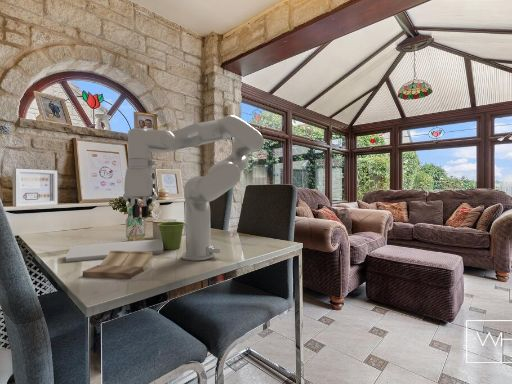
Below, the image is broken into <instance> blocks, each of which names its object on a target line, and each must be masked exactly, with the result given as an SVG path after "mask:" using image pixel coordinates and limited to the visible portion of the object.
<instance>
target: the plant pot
mask: <svg viewBox="0 0 512 384" xmlns="http://www.w3.org/2000/svg"><path fill="white" fill-rule="evenodd" d="M185 225H186V222H183V221H164V222H160V223H157V226H158V228H159V231H160V236H161V239H162V245H163V250H169V251H171V250H177V249H180V248H181V242H182V237H183V230H184V227H185Z"/></svg>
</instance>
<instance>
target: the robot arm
mask: <svg viewBox="0 0 512 384" xmlns="http://www.w3.org/2000/svg"><path fill="white" fill-rule="evenodd" d="M231 138H233V139H234V140H233V142H232V150H231V154H229V155H228V156H226V157H225V158H224V159H222V160H220V161H219V162H217V163H216V164H213V165H212V166H211V167H210V168H209V169H208V171H207V174H205V175H202V176H201V175H200V176H194V177H191V178H189V179H188V180H187V181H186V182H185V183H184V186H183V197H184V203H185V204H184V205H185V252H184V253H182V254H181V258H182V259H183V260H187V261H193V262H194V261H206V260H210V259H212V258H214V257H215V254H221V253H222V249H221V247H217V246H216V247H214V245H213V243H211V238H212V237H211V206H210V202H213V201H215V200H216V199H218V198H219V197H221V196H223V195H224V194H225V193H226V192H228V191H229V190H231V189H232V188H233V187H235V186H236V185H237V184H238V182H239V181H240V178H241V173H242V172H243V171H244V170H245V169H246V168H247V165H248V161H249V154H250V153H255V152H258V151H261V149H262V148H263V146H264V144H265V143H264V140H265V139H264V137H263V135H262V134H261V132H260V131H259V130H257V129H256V128H254V127H253V126H252V125H250V124H249V123H247V121H245V120H243V119H241V118H240V117H238V116H236V115H233V114H229V115H225V116H224V117H221V118H218V119H212V120H209V121H202V122H195V123H192V124H188V125H186V126H184V127H183V128H182V127H181V128H179V129H175V130H172V131H170V130H166V129H145V128H139V127H137V128H135V127H133V128H131V129H130V128H129V130H128V132H127V162H128V163H127V164H128V167H127V168H126V171H125V175H124V186H123V187H124V190H123V191H124V194H123V196H122V199H123V200H125V201H126V202H128V203H129V205H130V206H131V207H132V210H131V212H132V217H133V218H134V219H135V218H136V219H137V218H140V216H141V218H142V219H146V218H149V213H150V206H151V204H152V203H153V202H154V201H156V200H158V199H159V196H158V186H157V185H158V184H157V176H156V172H155V169H154V168H153V166H155V165H156V162H155V161H153V160H152V152H153V153H154V154H165V153H168V152H173V151H178V150H181V149H186V148H192V147H193V148H194V147H197V146H198V147H199V146H202V145H207V144H210V143H215V142H220V141H225V140H228V139H231ZM139 198H142V206H141V207H140V205H139ZM140 208H141V209H140ZM140 210H141V211H140Z"/></svg>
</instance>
